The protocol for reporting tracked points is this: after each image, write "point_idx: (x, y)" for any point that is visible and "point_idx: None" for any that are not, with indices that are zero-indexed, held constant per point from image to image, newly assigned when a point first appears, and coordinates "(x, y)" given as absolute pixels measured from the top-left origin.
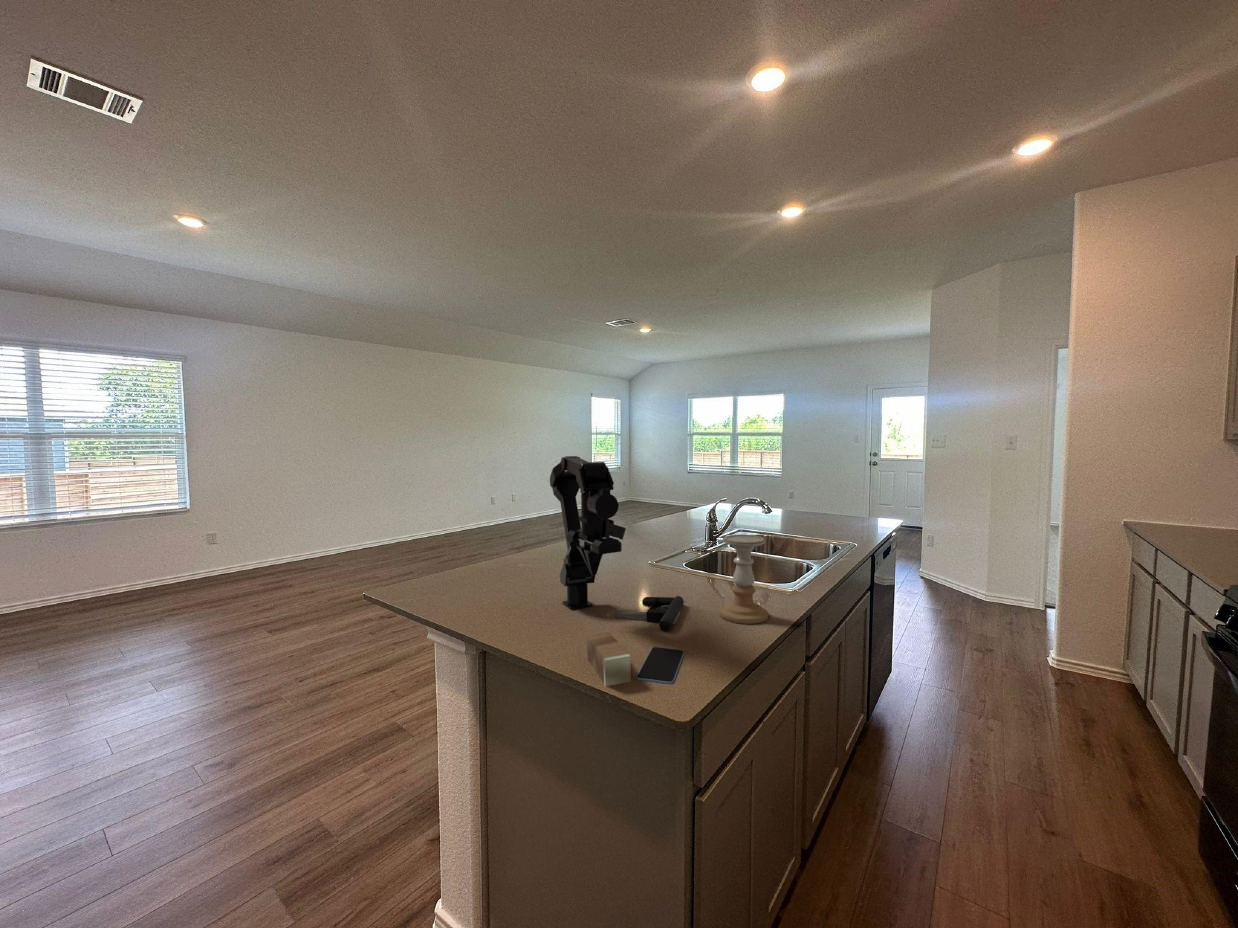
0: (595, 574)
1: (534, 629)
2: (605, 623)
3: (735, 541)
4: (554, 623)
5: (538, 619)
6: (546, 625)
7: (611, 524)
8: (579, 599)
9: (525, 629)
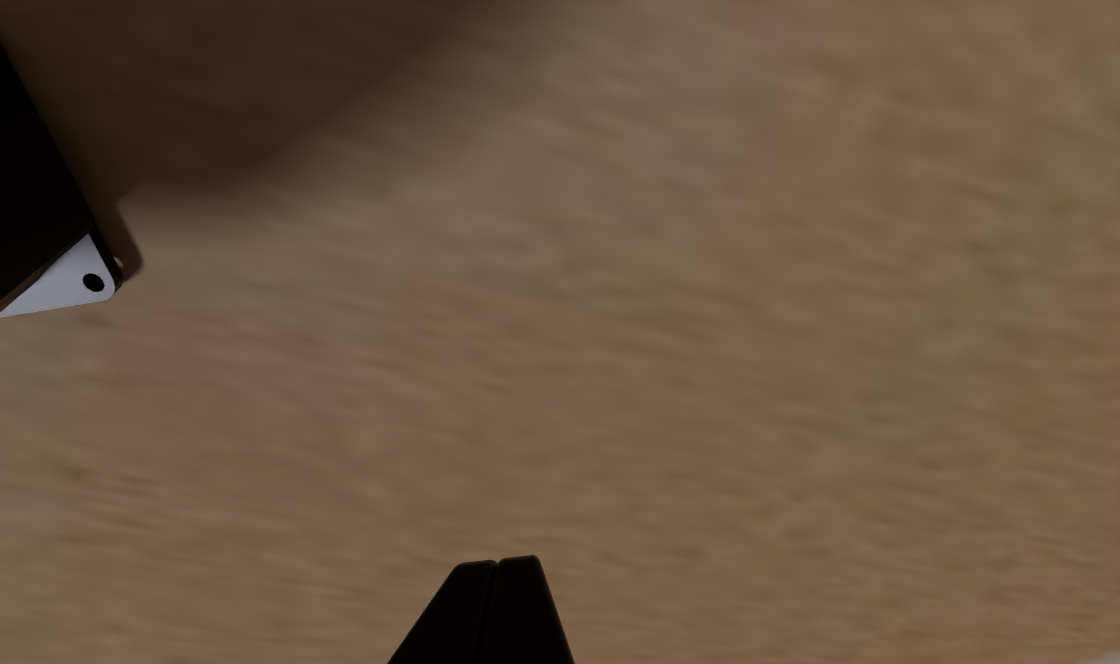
0: (539, 571)
1: None
2: (635, 55)
3: None
4: (458, 481)
5: (329, 558)
6: (483, 535)
7: None
8: (49, 257)
9: None
